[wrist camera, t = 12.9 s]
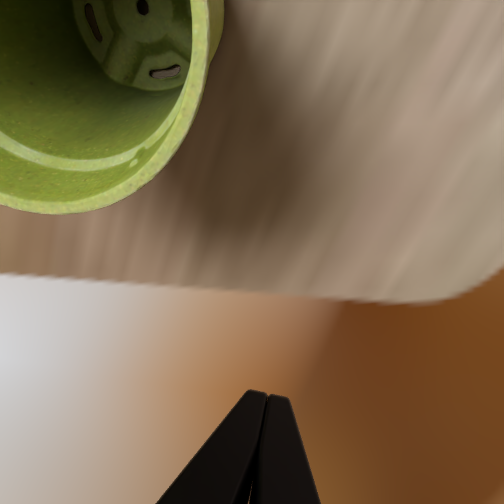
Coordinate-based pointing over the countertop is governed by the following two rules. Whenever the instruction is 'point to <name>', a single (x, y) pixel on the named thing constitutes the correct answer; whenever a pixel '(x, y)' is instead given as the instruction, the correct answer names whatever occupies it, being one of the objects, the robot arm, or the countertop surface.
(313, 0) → the countertop surface
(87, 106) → the plant pot
